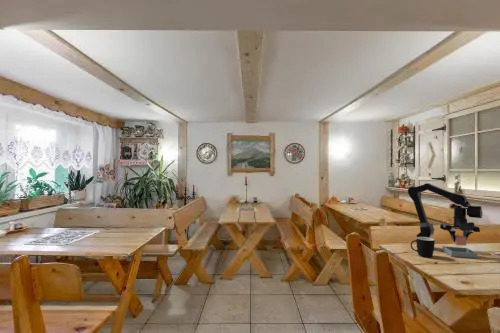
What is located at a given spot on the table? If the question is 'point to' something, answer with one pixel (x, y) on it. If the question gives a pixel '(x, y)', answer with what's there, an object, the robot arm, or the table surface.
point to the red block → (460, 240)
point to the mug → (424, 246)
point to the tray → (460, 252)
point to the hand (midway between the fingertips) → (459, 242)
